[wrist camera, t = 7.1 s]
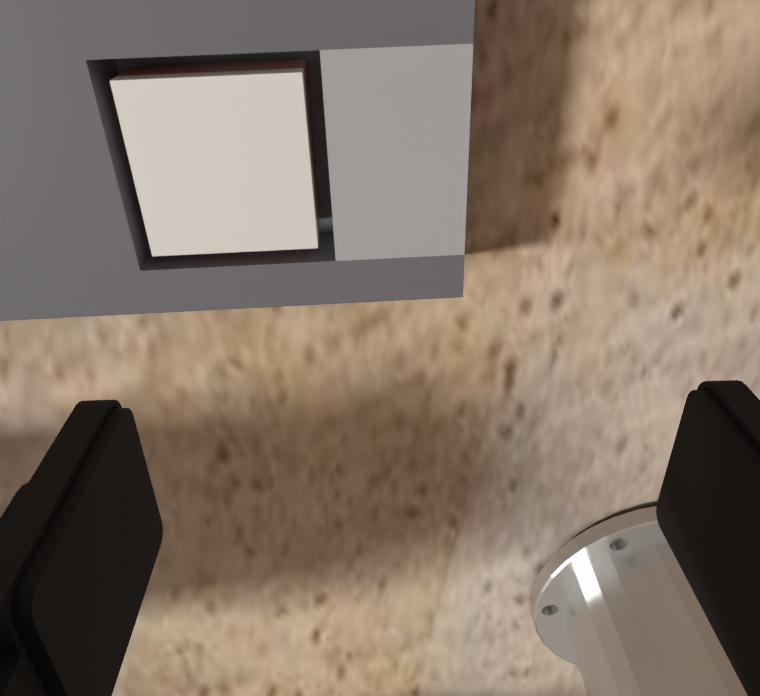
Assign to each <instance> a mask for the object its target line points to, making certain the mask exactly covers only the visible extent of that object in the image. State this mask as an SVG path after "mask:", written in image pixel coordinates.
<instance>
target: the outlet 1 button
mask: <svg viewBox="0 0 760 696" xmlns="http://www.w3.org/2000/svg"><path fill="white" fill-rule="evenodd" d="M110 85H111V89H112V93H113V97H114V102H115V106H116V110H117V114H118V118H119V122H120V126H121V130H122V134H123V139H124V143H125V147H126V151H127V155H128V159H129V163H130V167H131V171H132V175H133V180H134V184H135V188H136V192H137V196H138V200H139V204H140V208H141V212H142V217H143V221H144V225H145V229H146V233H147V237H148V241H149V245H150V249H151V253H152V256H172V255H192V254H212V253H233V252H253V251H273V250H293V249H313V248H318V242H319V229H320V218H319V206H318V195H317V183H316V172H315V160H314V149H313V138H312V126H311V115H310V103H309V92H308V80H307V69H306V59H295V60H272V61H248V62H225V63H202V64H178V65H155V66H132V67H129V68H127V69H126V70H125V71H123V72H122V73H120V74H119V75H117V76H116V77H114V78H113V79H111V80H110Z"/></svg>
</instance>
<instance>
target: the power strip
mask: <svg viewBox="0 0 760 696" xmlns="http://www.w3.org/2000/svg"><path fill="white" fill-rule="evenodd" d="M474 18H475V0H0V321H7V320H27V319H46V318H66V317H85V316H104V315H124V314H143V313H163V312H182V311H202V310H221V309H241V308H260V307H279V306H299V305H318V304H338V303H357V302H377V301H396V300H416V299H435V298H455V297H463V278H464V255H465V231H466V207H467V184H468V160H469V137H470V113H471V89H472V66H473V42H474ZM295 59H306V69H307V80H308V92H309V103H310V115H311V126H312V138H313V149H314V160H315V172H316V183H317V195H318V206H319V218H320V229H319V242H318V248H313V249H293V250H273V251H253V252H233V253H212V254H192V255H172V256H152V253H151V249H150V245H149V241H148V237H147V233H146V229H145V225H144V221H143V217H142V212H141V208H140V204H139V200H138V196H137V192H136V188H135V184H134V180H133V175H132V171H131V167H130V163H129V159H128V155H127V151H126V147H125V143H124V139H123V134H122V130H121V126H120V122H119V118H118V114H117V110H116V106H115V102H114V97H113V93H112V89H111V85H110V80H111V79H113V78H114V77H116V76H117V75H119V74H120V73H122V72H123V71H125V70H126V69H127V68H129V67H132V66H155V65H178V64H202V63H225V62H248V61H272V60H295Z"/></svg>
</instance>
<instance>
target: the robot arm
mask: <svg viewBox="0 0 760 696" xmlns="http://www.w3.org/2000/svg"><path fill="white" fill-rule="evenodd" d="M162 533H163V528H162V521H161V517H160V513H159V510H158V506H157V502H156V498H155V495H154V491H153V487H152V484H151V480H150V476H149V472H148V469H147V465H146V461H145V458H144V454H143V450H142V446H141V443H140V439H139V435H138V432H137V428H136V424H135V420H134V417H133V414H132V411H131V410H130V409H129V408H122V407H121V405H120V403H119V402H118V401H117V400H92V401H81V402H79V403H78V404H77V405H76V406H75V408H74V409H73V411H72V413H71V414H70V416H69V418H68V419H67V421H66V422H65V424H64V426H63V427H62V429H61V431H60V432H59V434H58V436H57V437H56V439H55V440H54V442H53V444H52V445H51V447H50V449H49V450H48V452H47V454H46V455H45V457H44V458H43V460H42V462H41V463H40V465H39V467H38V468H37V470H36V471H35V473H34V475H33V476H32V478H31V480H30V481H29V482H28V483H26V484H24V485H22V487H21V488H20V489H19V490H18V491H17V493H16V494H15V496H14V497H13V499H12V501H11V502H10V504H9V505H8V507H7V509H6V510H5V512H4V513H3V515H2V517H1V518H0V696H111V695H112V692H113V689H114V686H115V683H116V680H117V677H118V674H119V671H120V668H121V665H122V662H123V659H124V656H125V653H126V650H127V647H128V643H129V640H130V637H131V634H132V631H133V628H134V625H135V622H136V619H137V616H138V613H139V610H140V607H141V604H142V601H143V598H144V595H145V592H146V588H147V585H148V582H149V579H150V576H151V573H152V570H153V567H154V564H155V561H156V558H157V555H158V552H159V549H160V546H161V542H162ZM530 606H531V615H532V618H533V621H534V625H535V628H536V632H537V634H538V636H539V637H540V639H541V641H542V642H543V644H544V645H545V646H546V647H547V648H548V649H549V650H551V651H552V652H553V653H554V654H555V655H557V656H559V657H560V658H562V659H564V660H566V661H568V662H570V663H572V664H575V665H578V666H579V669H580V672H581V675H582V678H583V681H584V685H585V688H586V691H587V694H588V696H760V400H759V399H758V398H757V397H756V396H755V395H754V394H753V392H752V391H751V390H750V389H749V388H748V387H747V386H746V385H745V384H744V383H743V382H742V381H738V380H731V381H705V382H702V383H701V384H700V385H699V386H698V389H697V390H693V391H691V392H690V393H689V394H688V397H687V400H686V403H685V407H684V410H683V414H682V417H681V421H680V424H679V428H678V431H677V435H676V438H675V442H674V445H673V449H672V453H671V456H670V460H669V463H668V467H667V470H666V474H665V477H664V481H663V484H662V488H661V491H660V495H659V498H658V502H657V506H653V507H648V508H642V509H637V510H634V511H631V512H628V513H624V514H621V515H618V516H615V517H612V518H610V519H608V520H606V521H603V522H601V523H599V524H597V525H595V526H593V527H590V528H589V529H587V530H586V531H584V532H582V533H581V534H579V535H578V536H576V537H574V538H573V539H571V540H570V541H569V542H568V543H566V544H565V545H564V546H563V547H562V548H561V549H559V550H558V551H557V552H556V553H555V554H554V555H553V556H552V557H551V558H550V560H549V561H548V562H547V563H546V564H545V566H544V567H543V568H542V569H541V571H540V573H539V575H538V577H537V579H536V581H535V583H534V585H533V588H532V593H531V597H530Z"/></svg>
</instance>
